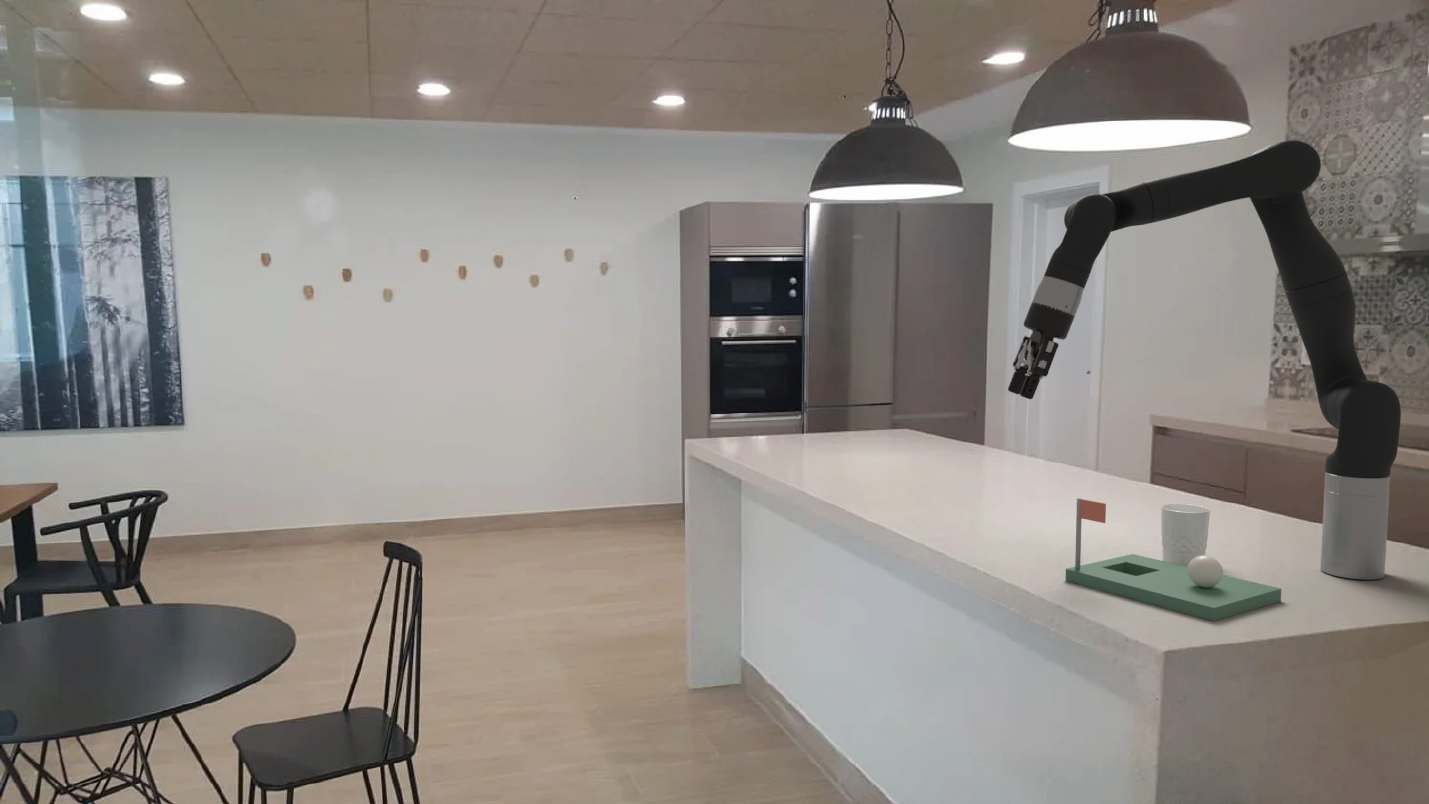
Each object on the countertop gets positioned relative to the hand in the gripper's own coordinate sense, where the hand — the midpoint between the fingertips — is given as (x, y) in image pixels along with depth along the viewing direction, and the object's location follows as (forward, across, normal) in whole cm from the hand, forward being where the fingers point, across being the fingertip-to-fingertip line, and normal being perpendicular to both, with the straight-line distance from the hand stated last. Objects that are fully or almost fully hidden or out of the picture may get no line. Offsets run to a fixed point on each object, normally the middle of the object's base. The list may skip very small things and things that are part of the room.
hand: (1019, 395), depth 170 cm
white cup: (+19, +3, -39) cm, 44 cm away
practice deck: (+21, -15, -30) cm, 40 cm away
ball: (+16, -20, -32) cm, 41 cm away
